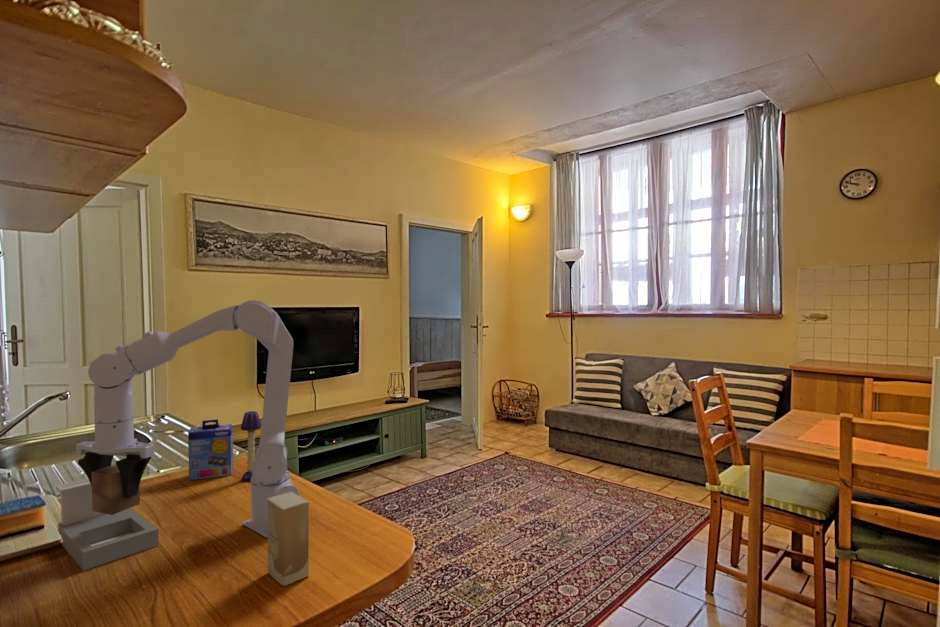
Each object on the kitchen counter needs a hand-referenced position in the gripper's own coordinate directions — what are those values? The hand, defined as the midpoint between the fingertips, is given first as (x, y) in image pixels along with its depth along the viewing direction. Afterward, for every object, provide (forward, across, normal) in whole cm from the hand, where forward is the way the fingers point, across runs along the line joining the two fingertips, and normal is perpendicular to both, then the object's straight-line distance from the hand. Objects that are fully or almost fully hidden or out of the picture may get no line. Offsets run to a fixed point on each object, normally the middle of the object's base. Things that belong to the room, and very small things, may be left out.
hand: (116, 495), depth 90 cm
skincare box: (+9, -36, +4) cm, 37 cm away
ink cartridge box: (+10, +9, -37) cm, 39 cm away
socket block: (+9, +3, -1) cm, 10 cm away
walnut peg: (+2, 0, 0) cm, 2 cm away
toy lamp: (+9, -3, -36) cm, 37 cm away
